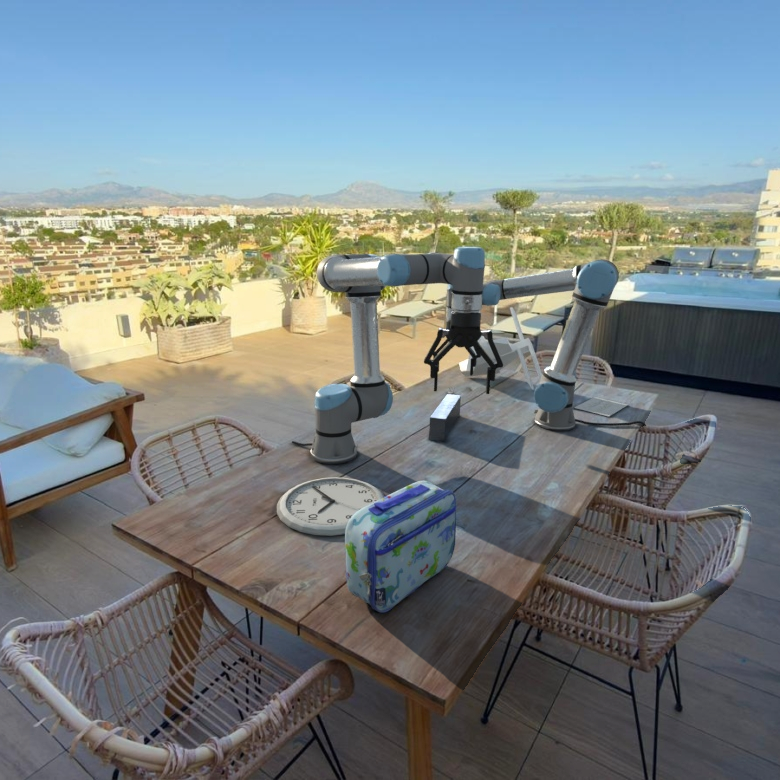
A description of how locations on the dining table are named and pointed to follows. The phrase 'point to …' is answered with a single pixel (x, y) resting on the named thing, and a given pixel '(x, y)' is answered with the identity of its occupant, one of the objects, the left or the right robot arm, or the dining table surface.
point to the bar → (444, 418)
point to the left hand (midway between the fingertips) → (461, 391)
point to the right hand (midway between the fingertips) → (454, 373)
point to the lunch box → (399, 543)
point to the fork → (450, 391)
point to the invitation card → (601, 406)
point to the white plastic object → (503, 354)
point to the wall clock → (325, 504)
